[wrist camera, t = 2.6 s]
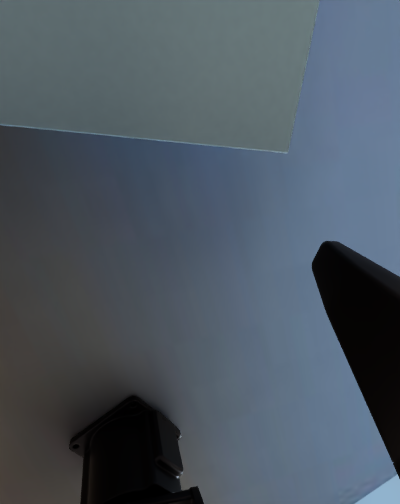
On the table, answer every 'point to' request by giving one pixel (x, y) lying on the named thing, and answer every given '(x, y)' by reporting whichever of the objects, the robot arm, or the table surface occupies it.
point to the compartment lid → (157, 68)
